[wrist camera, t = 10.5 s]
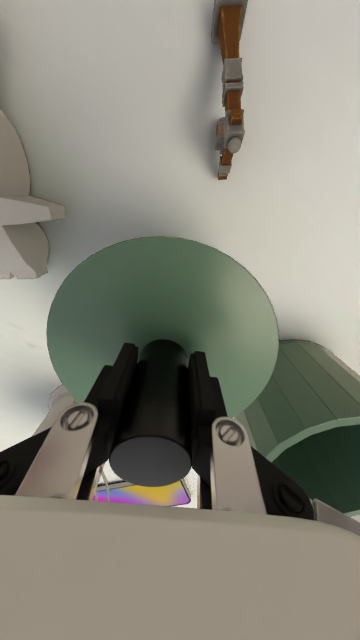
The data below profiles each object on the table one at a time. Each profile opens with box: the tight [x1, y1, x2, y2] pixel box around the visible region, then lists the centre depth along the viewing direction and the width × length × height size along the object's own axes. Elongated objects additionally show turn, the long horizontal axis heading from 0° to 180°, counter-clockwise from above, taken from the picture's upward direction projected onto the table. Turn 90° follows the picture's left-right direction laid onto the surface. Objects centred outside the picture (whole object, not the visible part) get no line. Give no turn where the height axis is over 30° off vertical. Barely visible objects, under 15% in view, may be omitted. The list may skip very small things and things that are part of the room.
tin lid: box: [46, 236, 279, 487], centre depth 10 cm, size 14×14×7 cm
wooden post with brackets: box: [211, 0, 248, 180], centre depth 13 cm, size 2×8×4 cm, turn 2°
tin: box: [234, 340, 360, 517], centre depth 20 cm, size 13×13×10 cm
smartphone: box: [92, 479, 191, 507], centre depth 33 cm, size 7×1×15 cm
